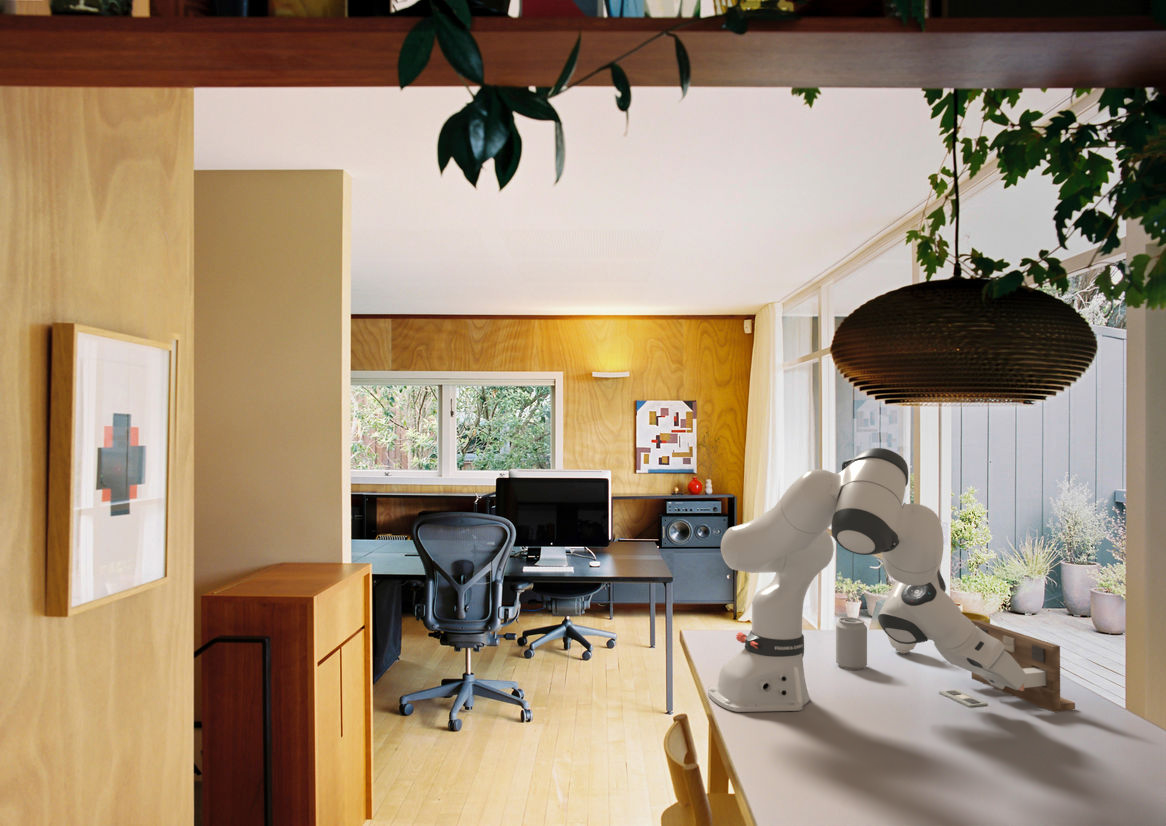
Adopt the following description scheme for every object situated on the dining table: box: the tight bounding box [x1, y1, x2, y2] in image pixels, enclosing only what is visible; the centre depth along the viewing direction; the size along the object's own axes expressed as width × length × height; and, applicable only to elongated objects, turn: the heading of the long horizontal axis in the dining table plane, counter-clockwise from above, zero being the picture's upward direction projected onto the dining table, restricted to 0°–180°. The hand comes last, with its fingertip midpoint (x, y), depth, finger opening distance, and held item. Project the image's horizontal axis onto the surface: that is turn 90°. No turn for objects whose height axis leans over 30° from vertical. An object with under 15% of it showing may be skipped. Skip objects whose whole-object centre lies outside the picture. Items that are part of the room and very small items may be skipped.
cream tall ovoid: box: [887, 635, 918, 655], centre depth 207 cm, size 8×8×18 cm
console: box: [971, 620, 1076, 713], centre depth 176 cm, size 6×23×14 cm, turn 16°
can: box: [835, 616, 868, 671], centre depth 195 cm, size 8×8×12 cm
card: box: [938, 689, 989, 708], centre depth 171 cm, size 5×9×1 cm, turn 16°
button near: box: [1018, 667, 1047, 691], centre depth 167 cm, size 9×4×4 cm, turn 106°
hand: (999, 684), depth 164 cm, fingers closed
